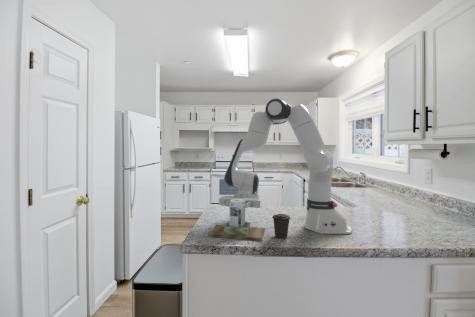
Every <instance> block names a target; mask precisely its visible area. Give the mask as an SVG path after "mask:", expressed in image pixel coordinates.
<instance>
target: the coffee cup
mask: <svg viewBox="0 0 475 317" xmlns="http://www.w3.org/2000/svg"><path fill="white" fill-rule="evenodd" d="M272 219H273V228H274V237H275V238H276V239H281V240H285V239H287V238H288V233H289V225H290V219H291V216H290V215H288V214H284V213H277V214H273V215H272Z"/></svg>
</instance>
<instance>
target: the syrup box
mask: <svg viewBox="0 0 475 317" xmlns="http://www.w3.org/2000/svg"><path fill="white" fill-rule="evenodd" d="M244 206H245V200H239V199H232V200H230V207H229V219H228V222H229V227H241V228H244V227H245V222H246V208H245V207H244Z"/></svg>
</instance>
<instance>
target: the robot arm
mask: <svg viewBox="0 0 475 317" xmlns="http://www.w3.org/2000/svg"><path fill="white" fill-rule="evenodd" d="M286 122H288V124H289V125H290V127H291V129H292V130H293V132H294V135H295V137H296V139H297V141H298V144H299V146H300V149H301V152H302V155H303V158H304V160H305V162H306V166H307V168H308V169H309V176H308V183H307V198H306V215H305V216H306V217H305V221H304V224H303V227H304V229H307V230H310V231H312V232H315V233H317V234H324V235H325V234H326V235H327V234H328V235H330V234H331V235H332V234H334V235H335V234H336V235H337V234H338V235H349V234H352V232H353V230H352V227H351V226H350V225H349V224H348V222H347V219H346V218H347V217H345V215H344V214H343V213H342V212H340V211H339V210H338V209H336V208H337V207H338V204H337V202H336V201H334V200H332V185H333V184H332V182H333V168H334V157H333V155H332V153H331V152H330V151H328V150H327V148H326V146H325V143H324V141H323V138H322V135H321V132H320V131H319V129H318V127H317V124H316V122H315V121H314V118H313V117H312V115H311V113H310V112H309V110H308V109H307V107H305V105H303V104H295V105H293V106H291V105H290V104H289V103H287V102H286V101H285V100H282V99H280V98H272V99H270V100H269V101H268V102H267V104H266V105H265V111H261V110H260V111H256V112H254V113H253V114H252V117H251V120H250V122H249V126H248V129H247V133H246V135H245V137H244V138H241V139H240V140H239V141H238V143H237V145H236V148H235V150H234V152H233V156H232V158H231V160H230V163H229V165H228V167H227V170H226V171H225V173H224V176H223V180H224V182H225V184H226V185H227V186H228V187H236V188H240V189H239V190H238V191H236V192H235V194H234V195H222V196H220V197H219V198H218V205H219V206H225V207H229V208H230V200H232V199H239V200H245V206H244V207H245V209H249V208H255V209H258V208H261V197H260V194H259V193H257V191H258V188H259V185H260V184H259V183H260V178H259V175H258V174H257V173H256V172H254V171H250V170H249V171H248V170H245V169H240V168H238V165H239V164H240V161H241V158H242V156H243V154H244V153H245V152H248V151H254V150H259V149H262V148H263V147H264V146H265V145H266V144H267V141H268V137H269V134H270V130H271V126H272V125H273V126H274V125H281V124H284V123H286Z"/></svg>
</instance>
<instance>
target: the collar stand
mask: <svg viewBox="0 0 475 317" xmlns="http://www.w3.org/2000/svg"><path fill="white" fill-rule="evenodd" d="M265 230H266V228H265V227H257V226H256V227H255V226H251V221H245V227H244V228H241V227H229V221H228V222H227V223H226V224H216V225H215V226H214V227H213V228H212V229H211V230H210V232H209V233H208V238H221V239H234V240H246V241H257V242H258V241H260V242H262V241H263V238H264V235H265Z"/></svg>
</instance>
